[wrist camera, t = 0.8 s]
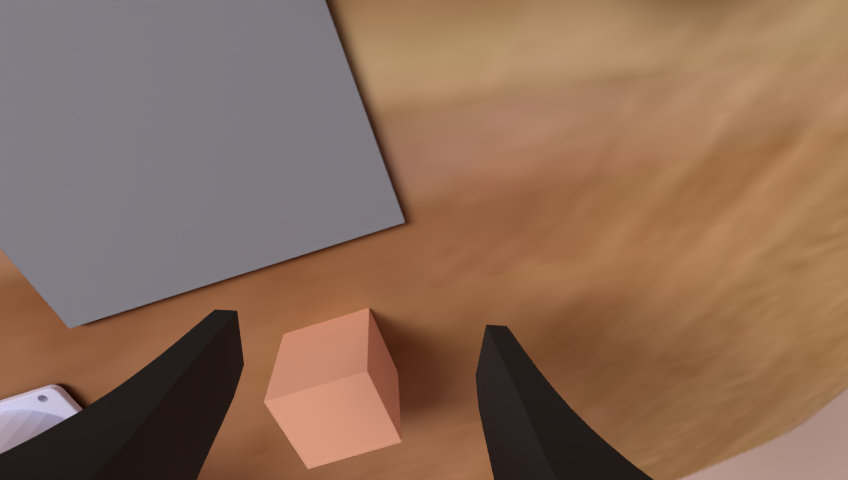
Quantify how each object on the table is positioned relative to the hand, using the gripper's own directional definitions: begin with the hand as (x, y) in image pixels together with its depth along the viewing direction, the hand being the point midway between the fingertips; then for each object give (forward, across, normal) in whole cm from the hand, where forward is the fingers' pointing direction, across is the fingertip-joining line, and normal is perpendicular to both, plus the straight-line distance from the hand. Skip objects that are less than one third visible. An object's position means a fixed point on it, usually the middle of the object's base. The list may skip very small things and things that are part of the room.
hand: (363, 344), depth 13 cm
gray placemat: (+10, +10, -3) cm, 14 cm away
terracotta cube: (+10, +2, +10) cm, 14 cm away
